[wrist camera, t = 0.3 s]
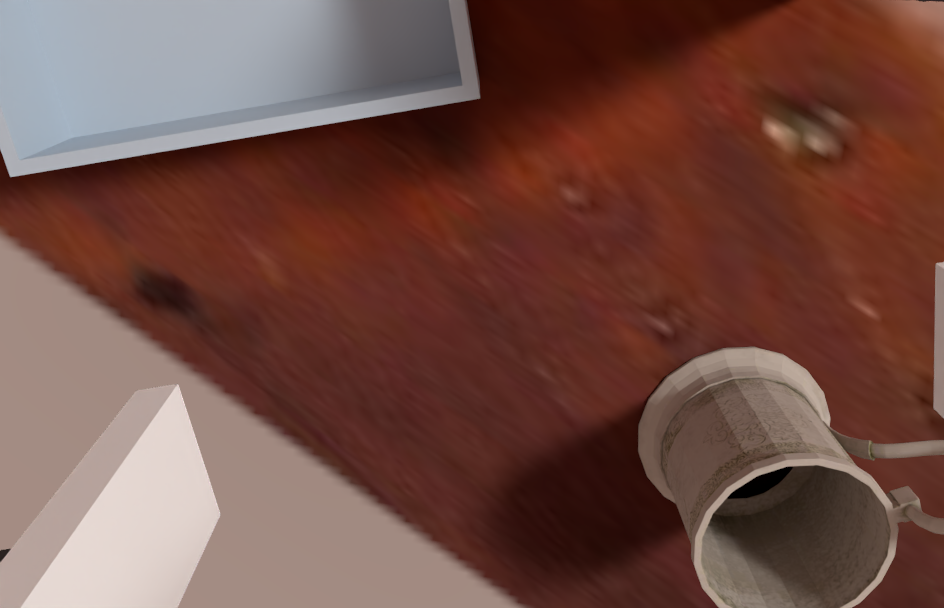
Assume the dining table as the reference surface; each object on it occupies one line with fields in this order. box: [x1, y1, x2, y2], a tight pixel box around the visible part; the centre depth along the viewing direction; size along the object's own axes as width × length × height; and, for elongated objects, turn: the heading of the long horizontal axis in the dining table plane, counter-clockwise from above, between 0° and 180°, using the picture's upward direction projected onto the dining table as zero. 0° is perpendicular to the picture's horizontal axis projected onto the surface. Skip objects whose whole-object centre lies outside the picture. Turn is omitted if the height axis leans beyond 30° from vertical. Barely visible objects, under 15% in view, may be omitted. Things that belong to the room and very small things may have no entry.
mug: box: [638, 347, 944, 608], centre depth 40 cm, size 14×10×12 cm
